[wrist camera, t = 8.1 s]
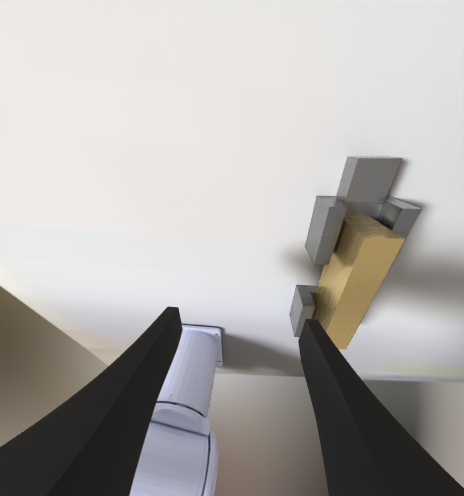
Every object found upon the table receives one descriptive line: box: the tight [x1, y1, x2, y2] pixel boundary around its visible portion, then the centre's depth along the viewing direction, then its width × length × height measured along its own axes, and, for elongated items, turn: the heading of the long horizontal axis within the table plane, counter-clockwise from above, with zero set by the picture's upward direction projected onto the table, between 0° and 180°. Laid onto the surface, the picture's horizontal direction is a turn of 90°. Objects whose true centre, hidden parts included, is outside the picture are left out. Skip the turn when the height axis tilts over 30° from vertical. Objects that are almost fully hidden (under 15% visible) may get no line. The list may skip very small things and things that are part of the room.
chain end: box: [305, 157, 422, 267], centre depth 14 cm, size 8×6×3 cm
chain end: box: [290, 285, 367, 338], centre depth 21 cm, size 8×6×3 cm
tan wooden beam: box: [312, 216, 405, 349], centre depth 16 cm, size 12×2×4 cm, turn 1°
